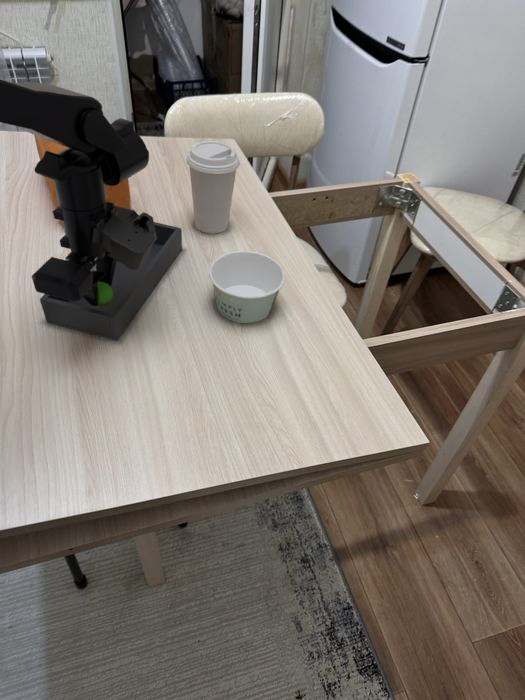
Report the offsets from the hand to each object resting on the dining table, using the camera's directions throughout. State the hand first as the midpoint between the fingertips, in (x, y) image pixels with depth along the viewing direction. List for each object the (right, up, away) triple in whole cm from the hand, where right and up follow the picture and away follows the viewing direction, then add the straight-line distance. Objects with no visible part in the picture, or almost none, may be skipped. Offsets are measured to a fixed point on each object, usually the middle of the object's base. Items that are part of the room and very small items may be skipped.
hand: (100, 297), depth 71 cm
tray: (0, +4, +10) cm, 11 cm away
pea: (0, -1, +1) cm, 1 cm away
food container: (+21, 0, +9) cm, 23 cm away
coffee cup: (+14, +17, +25) cm, 33 cm away
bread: (-12, +24, +29) cm, 39 cm away
